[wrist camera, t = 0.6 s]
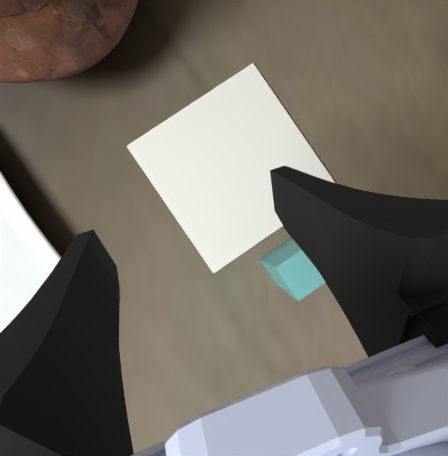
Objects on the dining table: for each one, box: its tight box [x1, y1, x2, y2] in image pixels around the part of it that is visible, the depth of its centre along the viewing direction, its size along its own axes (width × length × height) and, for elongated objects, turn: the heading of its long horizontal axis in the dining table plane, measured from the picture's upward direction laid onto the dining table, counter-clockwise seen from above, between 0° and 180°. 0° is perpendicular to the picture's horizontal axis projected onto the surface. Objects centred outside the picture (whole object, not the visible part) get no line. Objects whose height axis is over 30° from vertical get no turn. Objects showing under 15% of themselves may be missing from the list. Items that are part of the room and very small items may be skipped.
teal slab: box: [260, 238, 325, 301], centre depth 35 cm, size 4×8×10 cm, turn 124°
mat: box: [127, 63, 335, 274], centre depth 40 cm, size 20×20×1 cm
